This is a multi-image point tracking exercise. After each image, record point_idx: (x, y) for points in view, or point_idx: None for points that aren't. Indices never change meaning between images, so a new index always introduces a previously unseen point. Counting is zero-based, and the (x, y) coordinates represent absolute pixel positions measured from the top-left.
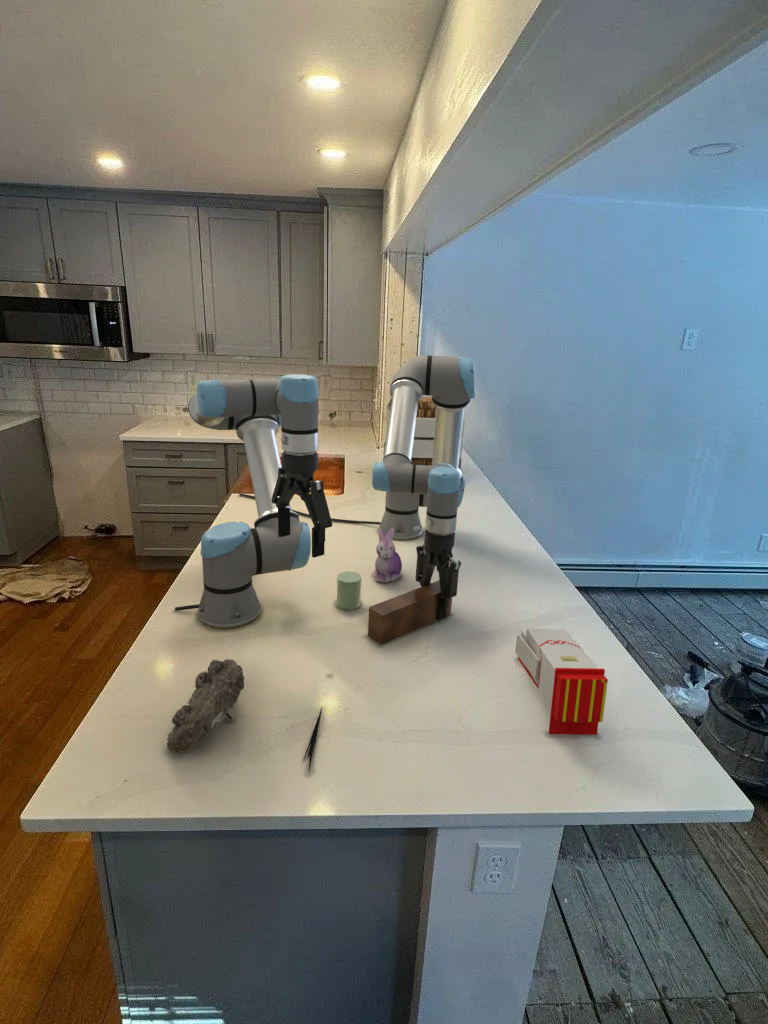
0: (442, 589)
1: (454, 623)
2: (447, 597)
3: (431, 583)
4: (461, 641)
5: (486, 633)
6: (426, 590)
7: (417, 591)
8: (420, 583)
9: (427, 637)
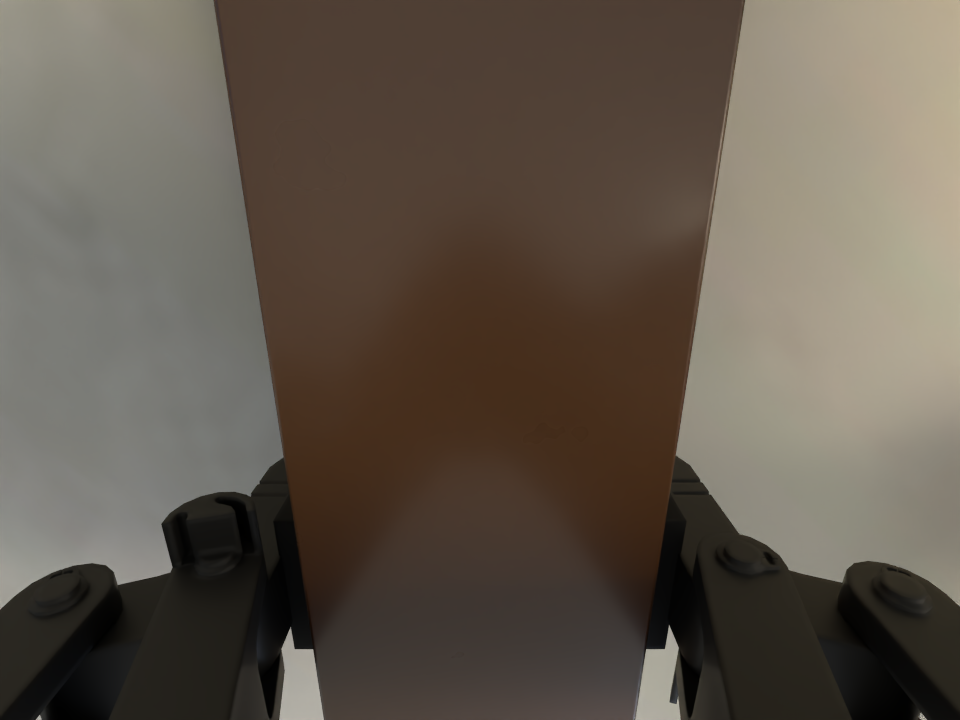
0: (176, 665)
1: (281, 450)
2: (103, 573)
3: (629, 681)
4: (13, 297)
5: (48, 529)
6: (502, 467)
7: (592, 295)
8: (774, 563)
9: (202, 75)
